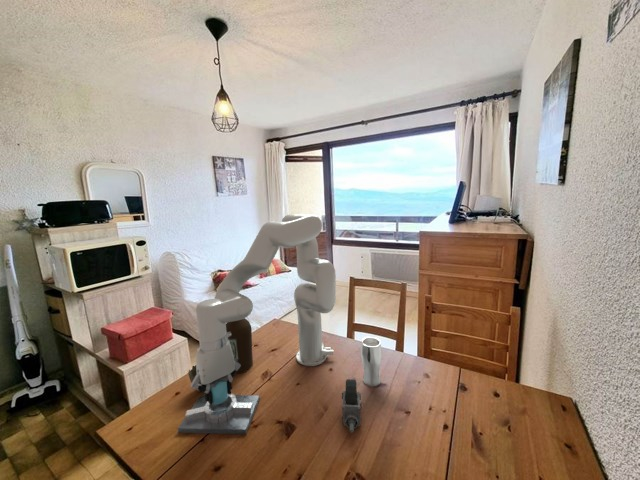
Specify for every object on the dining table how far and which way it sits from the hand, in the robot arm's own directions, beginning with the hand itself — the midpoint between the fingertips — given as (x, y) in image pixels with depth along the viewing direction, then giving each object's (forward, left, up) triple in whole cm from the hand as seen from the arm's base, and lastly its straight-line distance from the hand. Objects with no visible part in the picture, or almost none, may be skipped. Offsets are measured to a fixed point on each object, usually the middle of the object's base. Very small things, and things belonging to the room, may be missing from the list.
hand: (219, 396), depth 80 cm
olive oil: (+3, -24, -7) cm, 25 cm away
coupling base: (0, 0, -7) cm, 7 cm away
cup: (+12, -11, -7) cm, 18 cm away
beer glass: (-48, -16, -7) cm, 51 cm away
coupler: (0, 0, -1) cm, 1 cm away
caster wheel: (-40, 0, -7) cm, 41 cm away
